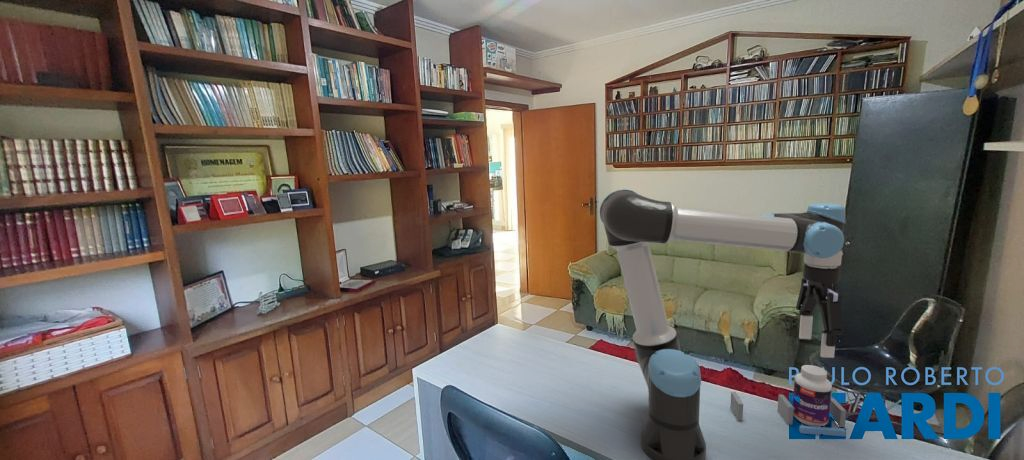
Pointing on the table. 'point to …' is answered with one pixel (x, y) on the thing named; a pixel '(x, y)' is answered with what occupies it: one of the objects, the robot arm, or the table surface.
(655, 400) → the robot arm
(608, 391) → the table surface
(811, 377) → the pill bottle
